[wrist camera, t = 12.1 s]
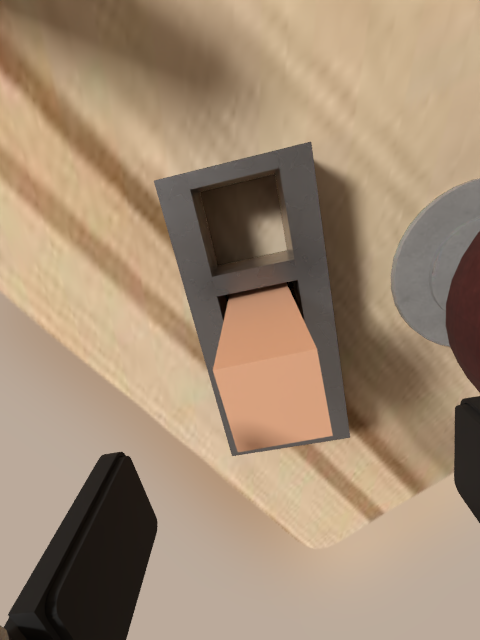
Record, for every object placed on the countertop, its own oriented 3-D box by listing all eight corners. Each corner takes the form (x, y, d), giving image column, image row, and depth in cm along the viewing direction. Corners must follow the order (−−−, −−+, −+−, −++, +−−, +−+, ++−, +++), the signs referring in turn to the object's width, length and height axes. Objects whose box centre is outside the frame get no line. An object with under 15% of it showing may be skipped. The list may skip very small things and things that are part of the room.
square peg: (282, 275, 24) (317, 348, 12) (292, 324, 26) (332, 435, 13) (231, 287, 25) (212, 370, 12) (243, 335, 26) (237, 452, 14)
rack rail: (300, 152, 21) (310, 141, 18) (336, 406, 28) (350, 437, 24) (169, 184, 22) (153, 180, 19) (234, 422, 29) (232, 455, 25)
